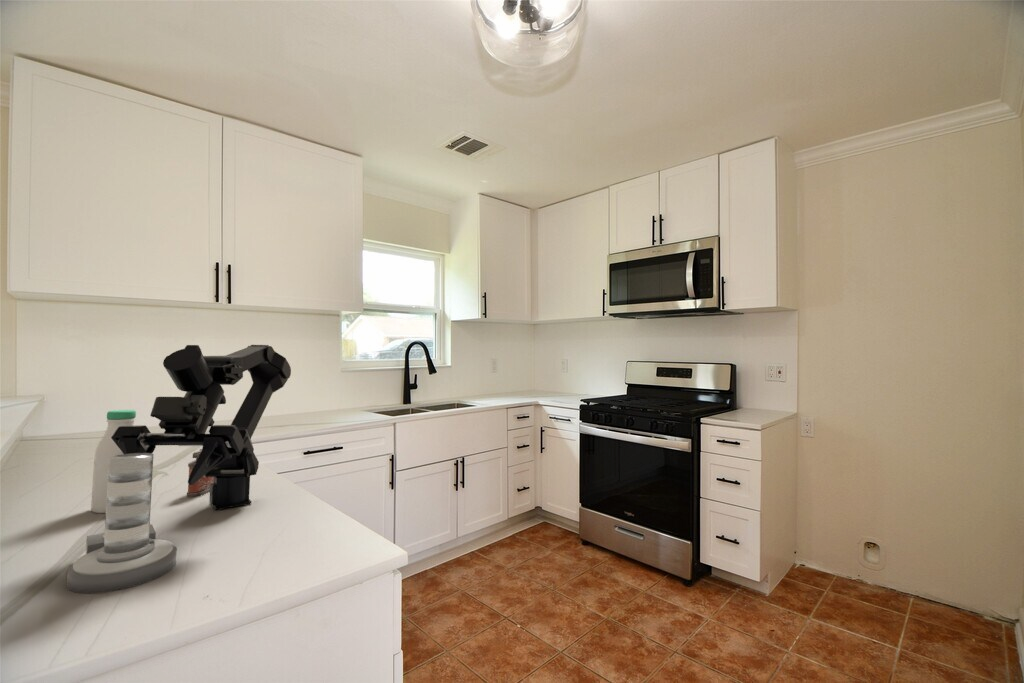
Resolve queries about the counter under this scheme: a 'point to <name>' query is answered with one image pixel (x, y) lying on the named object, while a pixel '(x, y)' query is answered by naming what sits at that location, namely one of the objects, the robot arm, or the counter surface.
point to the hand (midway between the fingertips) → (158, 484)
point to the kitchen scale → (119, 567)
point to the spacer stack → (128, 508)
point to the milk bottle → (107, 457)
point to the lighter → (202, 484)
